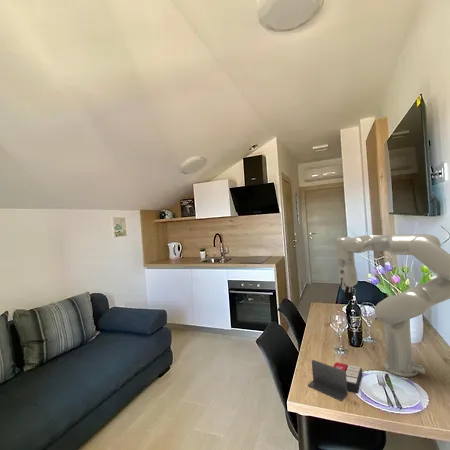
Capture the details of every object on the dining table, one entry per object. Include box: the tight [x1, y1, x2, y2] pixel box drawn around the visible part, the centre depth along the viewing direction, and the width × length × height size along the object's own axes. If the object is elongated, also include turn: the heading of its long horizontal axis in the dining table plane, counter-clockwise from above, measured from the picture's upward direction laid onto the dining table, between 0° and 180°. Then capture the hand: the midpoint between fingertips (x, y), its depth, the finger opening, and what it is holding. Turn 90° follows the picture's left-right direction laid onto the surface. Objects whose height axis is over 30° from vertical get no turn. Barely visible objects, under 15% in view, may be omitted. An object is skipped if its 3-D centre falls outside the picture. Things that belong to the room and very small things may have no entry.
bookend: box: [307, 359, 349, 402], centre depth 108 cm, size 14×5×9 cm, turn 40°
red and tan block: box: [332, 361, 363, 394], centre depth 114 cm, size 11×4×15 cm
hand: (349, 299), depth 134 cm, fingers closed
